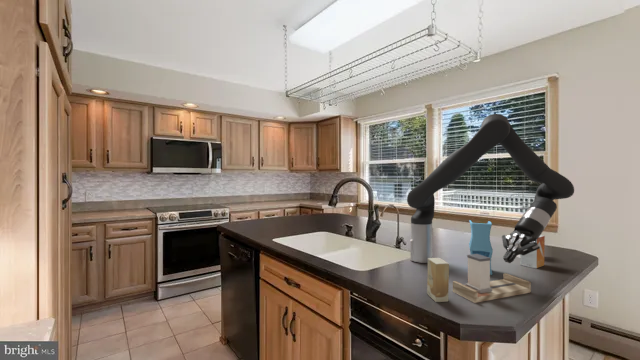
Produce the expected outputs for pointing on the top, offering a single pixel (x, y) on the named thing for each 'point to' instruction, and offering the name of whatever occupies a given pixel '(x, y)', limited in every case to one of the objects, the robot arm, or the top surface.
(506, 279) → the fader track
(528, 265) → the small box
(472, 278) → the fader knob
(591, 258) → the top surface
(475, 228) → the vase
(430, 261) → the skincare box
